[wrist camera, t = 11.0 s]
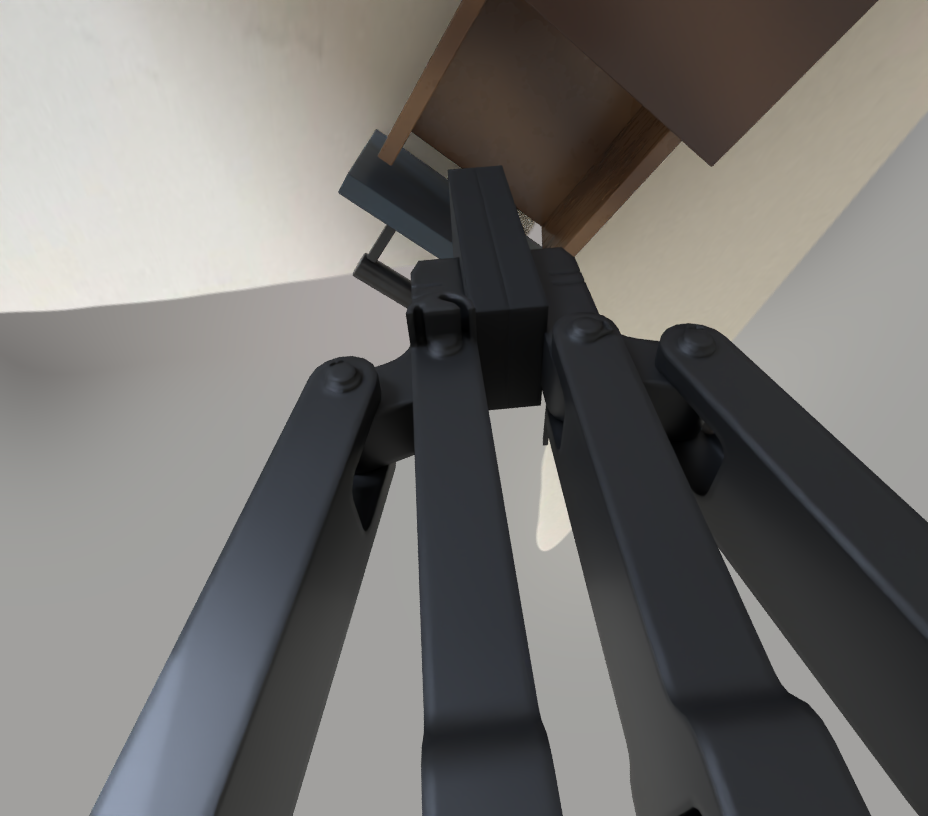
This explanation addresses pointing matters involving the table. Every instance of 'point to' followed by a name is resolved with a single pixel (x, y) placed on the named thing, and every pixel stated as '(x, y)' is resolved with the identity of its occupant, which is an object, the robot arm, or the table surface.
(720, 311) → the table surface
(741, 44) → the cabinet
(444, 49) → the drawer
